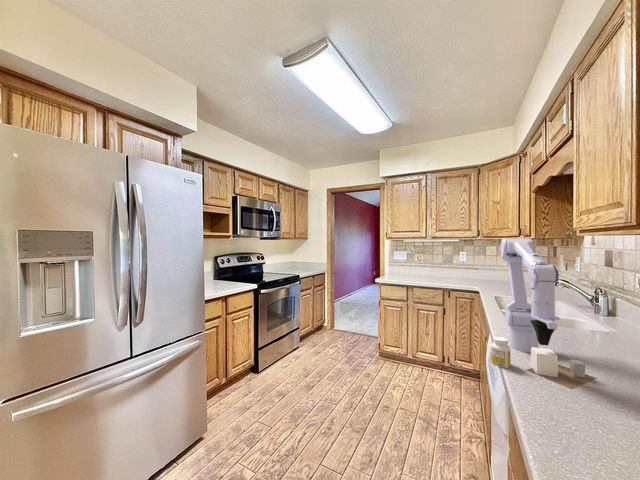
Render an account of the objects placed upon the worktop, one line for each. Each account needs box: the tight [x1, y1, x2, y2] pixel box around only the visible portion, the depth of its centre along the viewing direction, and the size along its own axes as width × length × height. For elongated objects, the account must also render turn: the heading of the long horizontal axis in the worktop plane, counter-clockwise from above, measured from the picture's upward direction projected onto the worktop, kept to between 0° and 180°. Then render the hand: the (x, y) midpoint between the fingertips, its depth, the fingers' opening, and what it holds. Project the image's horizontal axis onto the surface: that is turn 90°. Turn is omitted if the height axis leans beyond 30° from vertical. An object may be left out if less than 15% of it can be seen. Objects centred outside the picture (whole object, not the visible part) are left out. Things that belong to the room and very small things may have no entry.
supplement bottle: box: [490, 336, 511, 369], centre depth 91 cm, size 5×5×10 cm
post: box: [569, 359, 586, 379], centre depth 83 cm, size 3×3×4 cm
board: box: [526, 364, 597, 390], centre depth 84 cm, size 14×12×1 cm
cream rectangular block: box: [530, 347, 559, 377], centre depth 86 cm, size 5×5×7 cm
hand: (543, 344), depth 86 cm, fingers closed
